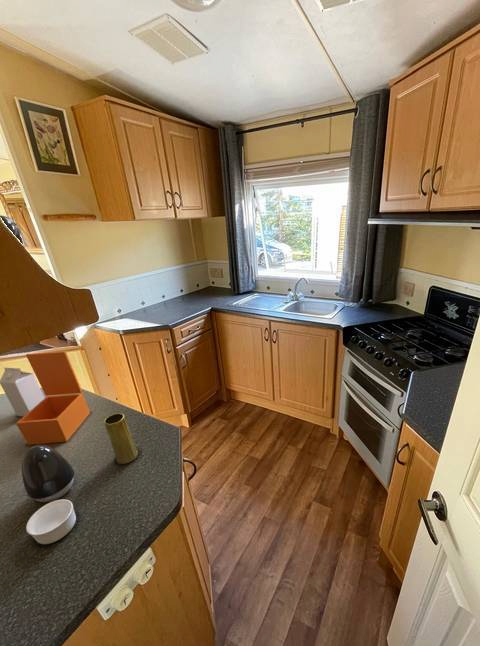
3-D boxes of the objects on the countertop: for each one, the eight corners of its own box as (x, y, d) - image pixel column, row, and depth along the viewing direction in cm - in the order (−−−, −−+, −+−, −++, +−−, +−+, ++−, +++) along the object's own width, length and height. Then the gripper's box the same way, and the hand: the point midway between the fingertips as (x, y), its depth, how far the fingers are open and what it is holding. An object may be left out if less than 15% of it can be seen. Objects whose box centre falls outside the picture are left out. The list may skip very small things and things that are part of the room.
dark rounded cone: (45, 516, 71) (18, 470, 64) (26, 498, 76) (-1, 454, 69) (86, 485, 78) (66, 442, 72) (67, 471, 83) (46, 429, 77)
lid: (64, 352, 97) (65, 351, 98) (25, 354, 97) (27, 353, 98) (81, 393, 105) (82, 391, 106) (45, 395, 104) (47, 394, 105)
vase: (130, 465, 84) (116, 426, 78) (111, 463, 85) (96, 424, 79) (142, 450, 90) (130, 412, 83) (124, 448, 91) (111, 411, 85)
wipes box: (67, 441, 95) (57, 419, 91) (27, 444, 95) (15, 423, 91) (90, 413, 109) (82, 393, 105) (55, 416, 109) (46, 396, 105)
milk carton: (34, 405, 116) (13, 363, 108) (48, 406, 115) (28, 363, 106) (17, 416, 110) (-7, 372, 102) (32, 417, 109) (9, 373, 100)
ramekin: (29, 530, 67) (21, 518, 66) (72, 504, 73) (66, 492, 71) (39, 556, 62) (31, 543, 60) (84, 525, 68) (78, 513, 66)
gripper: (29, 279, 102) (47, 322, 109) (-3, 287, 89) (20, 336, 96) (50, 277, 102) (67, 321, 109) (22, 285, 89) (43, 334, 97)
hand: (45, 328), depth 103 cm, fingers open, 8 cm apart
